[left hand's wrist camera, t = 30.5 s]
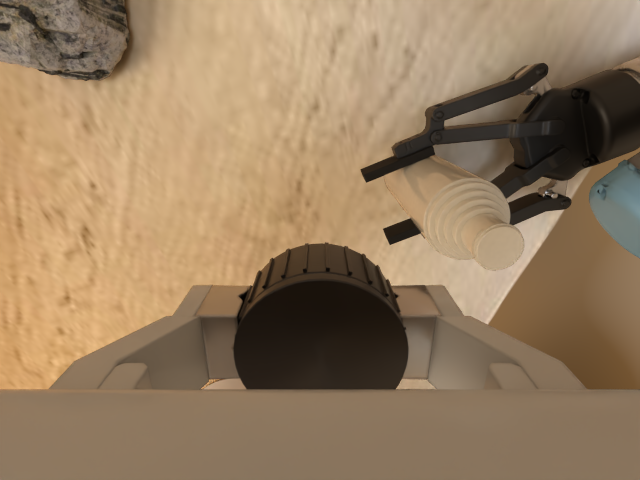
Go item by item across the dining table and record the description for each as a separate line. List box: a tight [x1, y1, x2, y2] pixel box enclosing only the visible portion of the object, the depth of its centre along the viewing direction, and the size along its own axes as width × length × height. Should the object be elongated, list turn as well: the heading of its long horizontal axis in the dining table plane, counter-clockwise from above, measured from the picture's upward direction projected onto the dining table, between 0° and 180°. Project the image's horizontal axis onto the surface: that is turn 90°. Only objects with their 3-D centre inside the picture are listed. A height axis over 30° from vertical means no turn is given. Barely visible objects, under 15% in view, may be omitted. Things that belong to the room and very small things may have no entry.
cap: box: [233, 242, 409, 389], centre depth 9 cm, size 4×4×2 cm
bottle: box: [384, 155, 524, 271], centre depth 31 cm, size 6×6×22 cm
